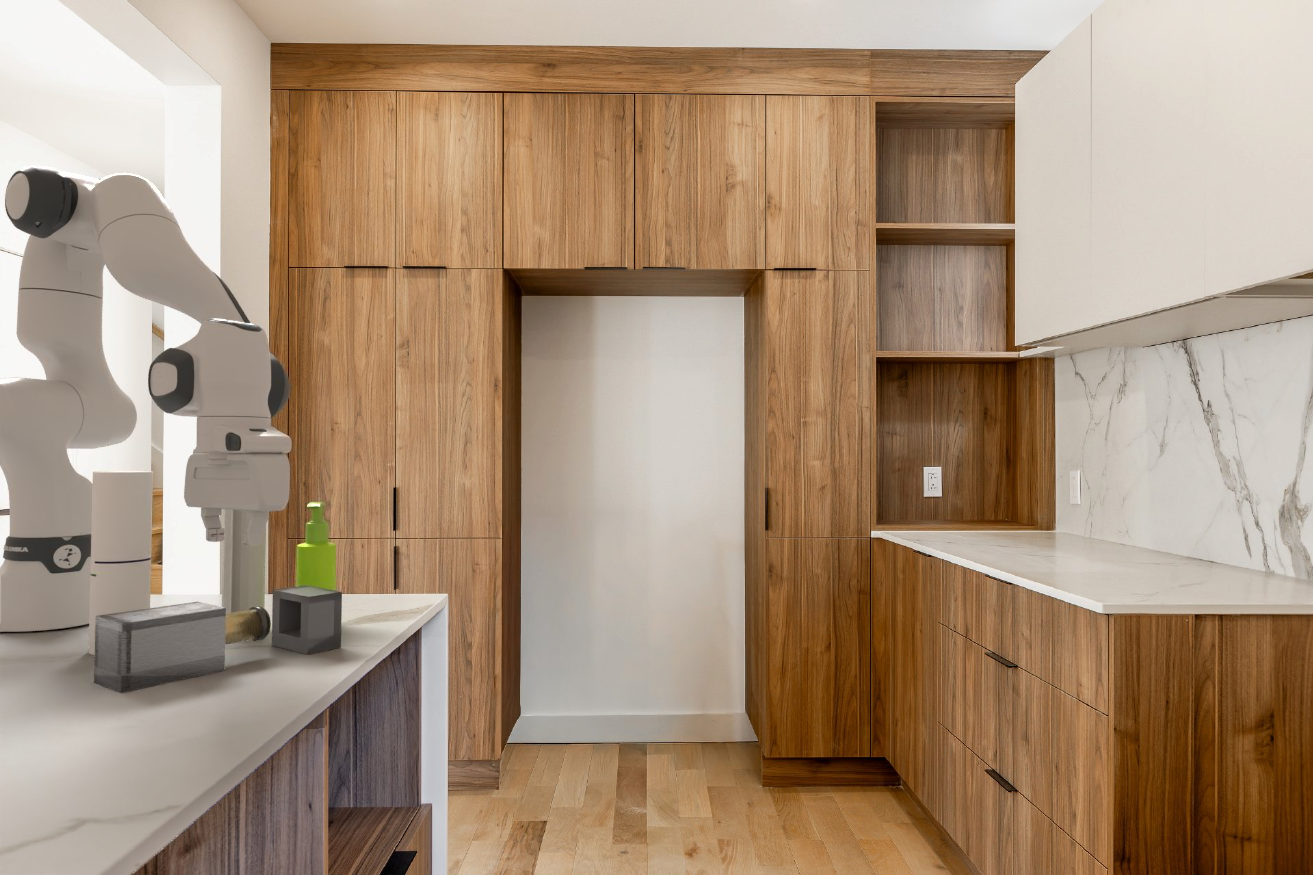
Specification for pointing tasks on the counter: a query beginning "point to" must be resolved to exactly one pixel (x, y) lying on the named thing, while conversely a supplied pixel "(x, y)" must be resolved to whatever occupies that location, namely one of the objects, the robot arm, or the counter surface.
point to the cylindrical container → (120, 544)
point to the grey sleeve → (159, 645)
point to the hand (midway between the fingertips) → (233, 543)
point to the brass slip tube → (247, 625)
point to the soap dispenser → (316, 553)
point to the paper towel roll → (241, 565)
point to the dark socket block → (306, 619)
